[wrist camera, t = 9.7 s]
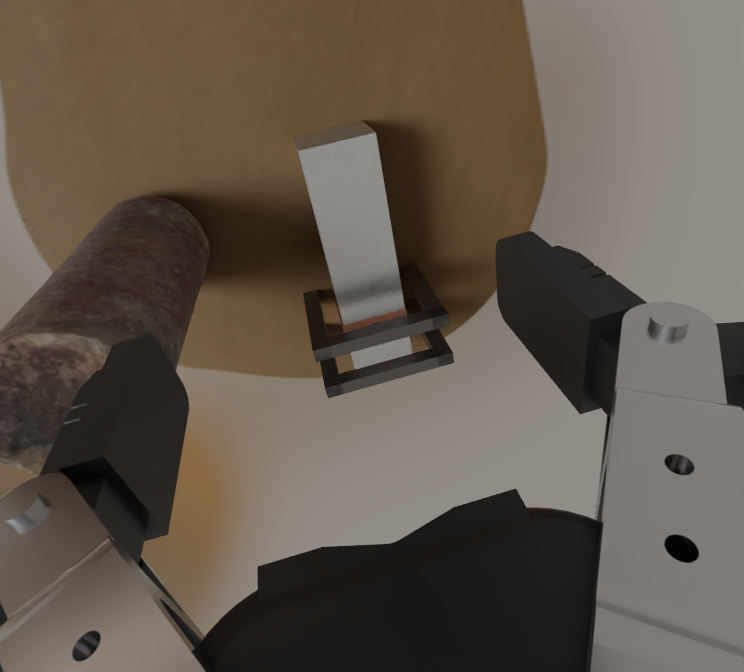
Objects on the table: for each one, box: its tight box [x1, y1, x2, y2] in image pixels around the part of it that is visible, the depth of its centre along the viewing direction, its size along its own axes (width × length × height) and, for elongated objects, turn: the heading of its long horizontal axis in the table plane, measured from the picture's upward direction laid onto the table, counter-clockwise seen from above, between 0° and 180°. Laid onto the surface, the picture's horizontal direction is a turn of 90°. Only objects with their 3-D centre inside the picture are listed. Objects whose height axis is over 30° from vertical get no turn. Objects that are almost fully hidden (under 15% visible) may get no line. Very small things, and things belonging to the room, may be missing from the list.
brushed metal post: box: [294, 120, 412, 369], centre depth 36 cm, size 18×5×5 cm, turn 10°
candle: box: [0, 197, 210, 475], centre depth 27 cm, size 8×7×20 cm
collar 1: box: [303, 264, 450, 362], centre depth 37 cm, size 1×10×9 cm, turn 101°
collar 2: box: [320, 299, 454, 398], centre depth 39 cm, size 1×10×9 cm, turn 101°
